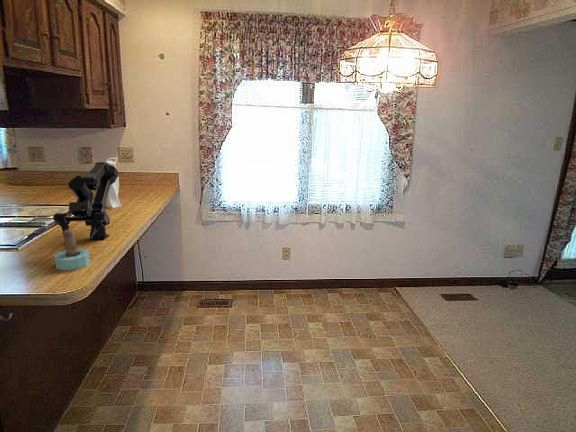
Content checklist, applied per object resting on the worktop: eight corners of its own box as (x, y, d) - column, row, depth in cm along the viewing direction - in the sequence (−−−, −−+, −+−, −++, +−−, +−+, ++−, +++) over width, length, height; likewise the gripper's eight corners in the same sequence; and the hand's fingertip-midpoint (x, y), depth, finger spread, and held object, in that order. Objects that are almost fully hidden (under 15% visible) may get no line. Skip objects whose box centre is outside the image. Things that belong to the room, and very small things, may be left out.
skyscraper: (115, 204, 230) (111, 156, 223) (124, 206, 227) (120, 158, 219) (102, 207, 223) (97, 158, 216) (112, 209, 219) (107, 159, 212)
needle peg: (67, 263, 146) (63, 230, 142) (78, 261, 148) (74, 229, 144) (67, 266, 143) (63, 233, 139) (78, 265, 145) (74, 231, 141)
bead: (66, 258, 151) (65, 248, 149) (95, 258, 151) (93, 249, 150) (49, 269, 140) (48, 259, 139) (80, 270, 140) (79, 260, 139)
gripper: (51, 193, 149) (42, 229, 142) (103, 192, 152) (97, 228, 144) (62, 207, 159) (54, 242, 151) (110, 207, 161) (105, 241, 154)
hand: (77, 238), depth 150 cm, fingers open, 9 cm apart
